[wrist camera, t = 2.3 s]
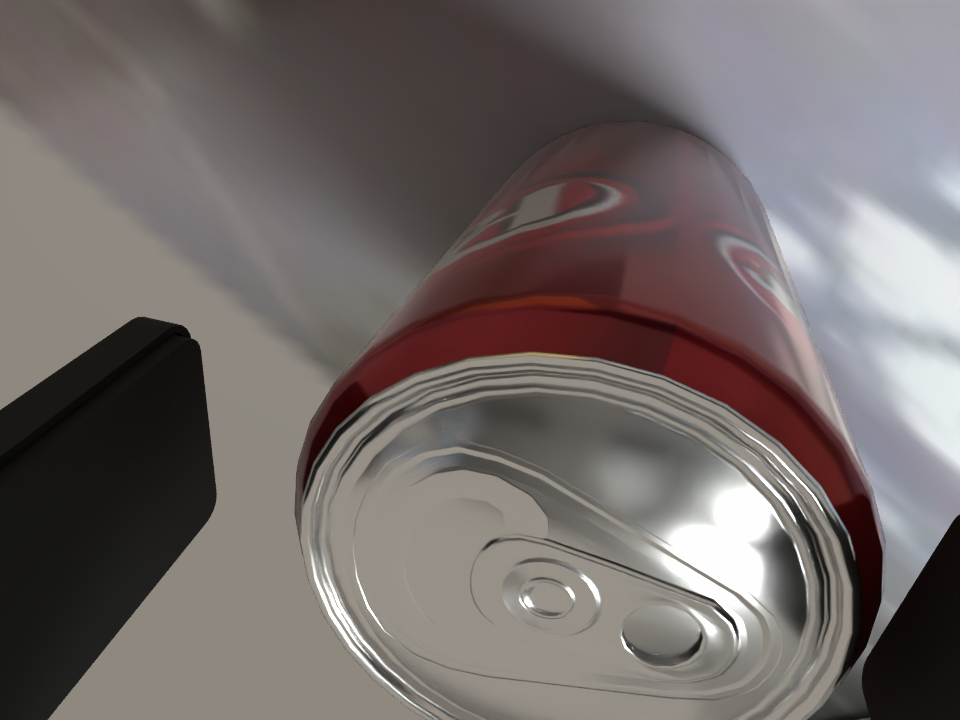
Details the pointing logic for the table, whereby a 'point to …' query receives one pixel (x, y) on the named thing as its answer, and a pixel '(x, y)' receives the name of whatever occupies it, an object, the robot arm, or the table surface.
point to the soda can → (597, 460)
